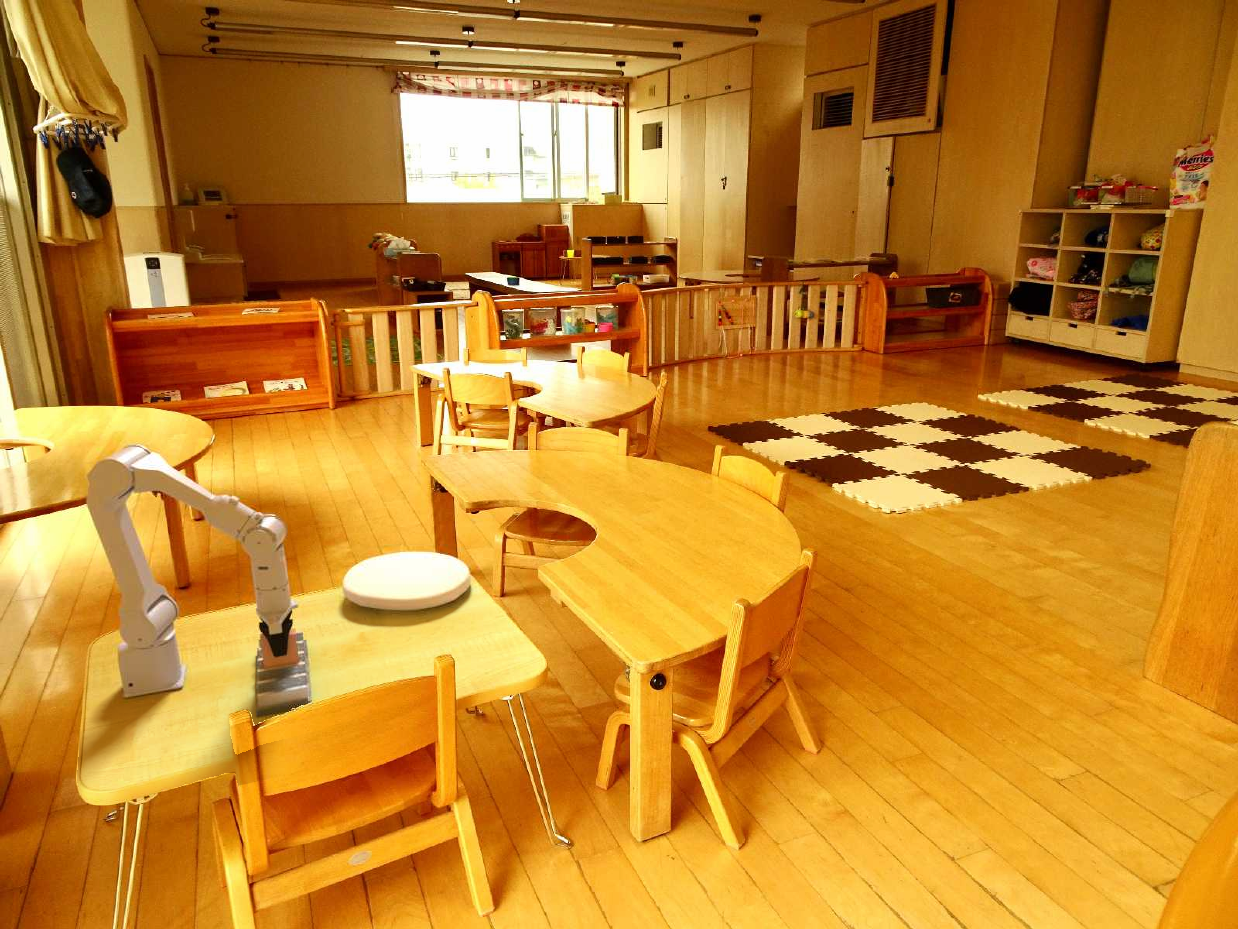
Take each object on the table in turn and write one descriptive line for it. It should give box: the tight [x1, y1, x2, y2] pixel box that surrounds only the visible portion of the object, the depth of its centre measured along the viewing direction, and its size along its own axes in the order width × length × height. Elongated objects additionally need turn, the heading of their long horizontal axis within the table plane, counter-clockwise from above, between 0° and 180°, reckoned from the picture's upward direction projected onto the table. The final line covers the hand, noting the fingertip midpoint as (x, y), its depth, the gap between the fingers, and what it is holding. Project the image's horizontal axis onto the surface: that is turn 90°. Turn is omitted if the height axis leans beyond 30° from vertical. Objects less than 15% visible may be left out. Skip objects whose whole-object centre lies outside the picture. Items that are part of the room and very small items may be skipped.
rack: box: [255, 630, 313, 718], centre depth 156 cm, size 9×23×4 cm, turn 22°
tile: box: [259, 628, 300, 669], centre depth 155 cm, size 6×2×8 cm, turn 112°
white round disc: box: [342, 551, 472, 611], centre depth 191 cm, size 28×6×27 cm
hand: (280, 651), depth 155 cm, fingers closed on tile, 2 cm apart
